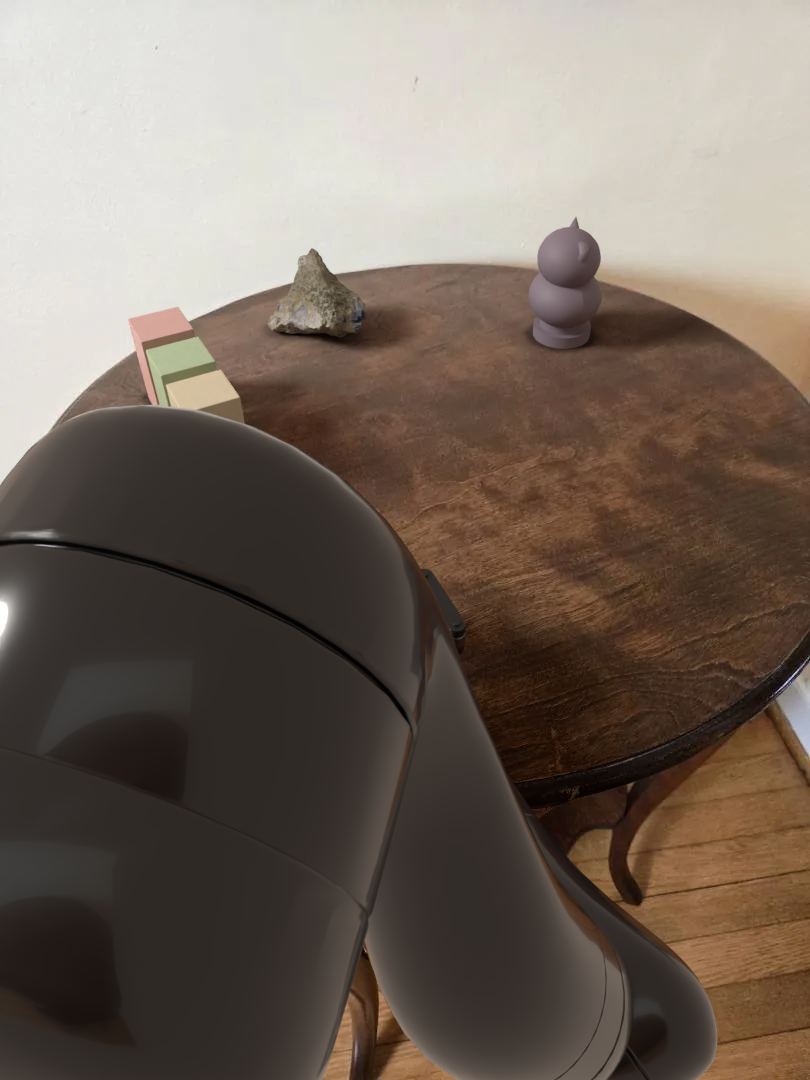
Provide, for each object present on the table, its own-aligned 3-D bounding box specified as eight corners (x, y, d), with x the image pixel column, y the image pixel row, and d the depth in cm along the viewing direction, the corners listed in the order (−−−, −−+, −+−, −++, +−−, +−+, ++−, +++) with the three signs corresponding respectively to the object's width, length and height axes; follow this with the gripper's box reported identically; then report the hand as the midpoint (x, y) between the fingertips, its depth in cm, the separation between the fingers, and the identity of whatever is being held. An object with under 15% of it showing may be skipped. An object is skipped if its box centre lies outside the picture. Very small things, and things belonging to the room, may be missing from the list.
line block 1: (210, 408, 85) (193, 328, 79) (162, 422, 84) (141, 342, 78) (195, 384, 89) (178, 306, 82) (148, 397, 87) (127, 318, 81)
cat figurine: (519, 316, 98) (528, 214, 90) (586, 313, 98) (601, 211, 90) (531, 355, 92) (542, 249, 84) (603, 352, 92) (620, 246, 84)
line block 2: (231, 442, 81) (215, 361, 75) (181, 457, 80) (160, 375, 73) (214, 415, 84) (198, 336, 78) (166, 430, 83) (145, 349, 77)
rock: (257, 322, 96) (297, 241, 94) (290, 340, 101) (329, 264, 99) (322, 357, 90) (366, 272, 88) (354, 375, 95) (396, 294, 93)
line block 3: (255, 479, 77) (240, 397, 71) (202, 496, 75) (182, 413, 69) (236, 450, 80) (220, 368, 74) (185, 466, 79) (165, 384, 72)
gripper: (527, 664, 48) (397, 499, 58) (294, 768, 43) (198, 569, 54) (517, 738, 53) (399, 575, 63) (308, 839, 48) (217, 645, 59)
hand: (307, 573), depth 58 cm, fingers open, 8 cm apart
